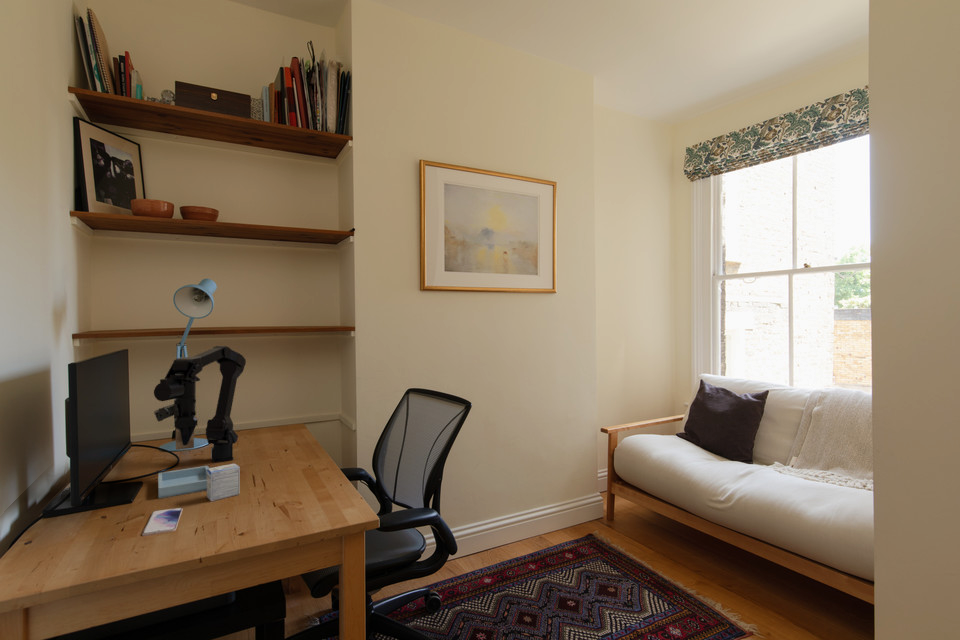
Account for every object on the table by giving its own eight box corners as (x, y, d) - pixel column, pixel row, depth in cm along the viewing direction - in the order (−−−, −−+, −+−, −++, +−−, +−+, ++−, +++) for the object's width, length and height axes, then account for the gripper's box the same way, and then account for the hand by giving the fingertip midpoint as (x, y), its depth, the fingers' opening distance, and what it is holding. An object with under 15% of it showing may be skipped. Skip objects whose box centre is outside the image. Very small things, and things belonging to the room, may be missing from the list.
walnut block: (193, 444, 161) (193, 426, 161) (193, 447, 157) (194, 429, 157) (175, 446, 158) (175, 427, 158) (175, 449, 154) (176, 430, 154)
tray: (208, 474, 161) (208, 465, 161) (212, 489, 148) (213, 479, 148) (158, 482, 153) (158, 473, 153) (158, 498, 140) (158, 488, 140)
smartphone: (183, 507, 133) (175, 529, 119) (183, 510, 133) (175, 532, 119) (152, 510, 130) (141, 533, 116) (152, 514, 130) (141, 537, 116)
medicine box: (235, 490, 146) (235, 462, 146) (239, 494, 143) (240, 466, 143) (206, 497, 141) (206, 468, 141) (210, 502, 138) (210, 472, 138)
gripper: (156, 394, 161) (156, 440, 161) (155, 402, 146) (154, 453, 145) (195, 391, 167) (194, 436, 167) (197, 399, 152) (197, 448, 152)
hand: (184, 443), depth 158 cm, fingers closed on walnut block, 5 cm apart
